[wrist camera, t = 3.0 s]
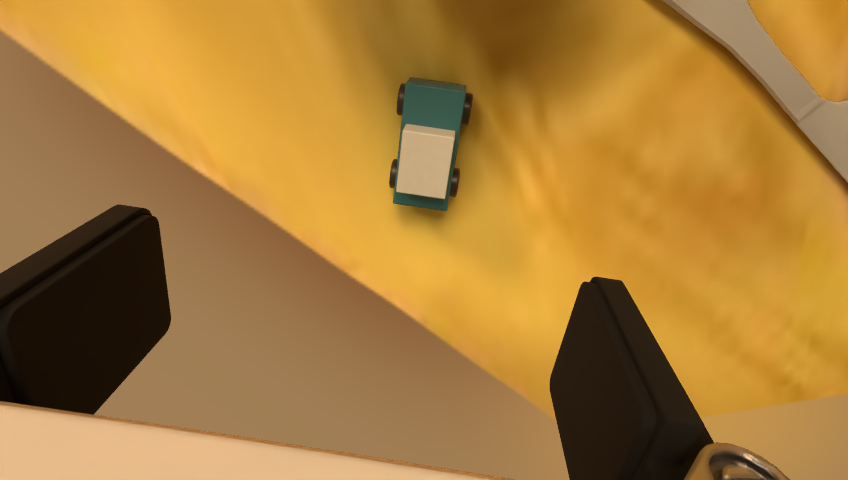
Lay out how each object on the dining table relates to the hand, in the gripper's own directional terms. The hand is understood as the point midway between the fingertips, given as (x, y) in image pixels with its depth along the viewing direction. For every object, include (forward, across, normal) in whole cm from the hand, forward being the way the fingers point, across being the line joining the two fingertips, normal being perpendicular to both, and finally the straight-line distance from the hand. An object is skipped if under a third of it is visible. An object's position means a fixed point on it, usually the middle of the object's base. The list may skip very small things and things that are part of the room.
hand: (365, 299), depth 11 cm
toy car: (+14, -1, 0) cm, 14 cm away
